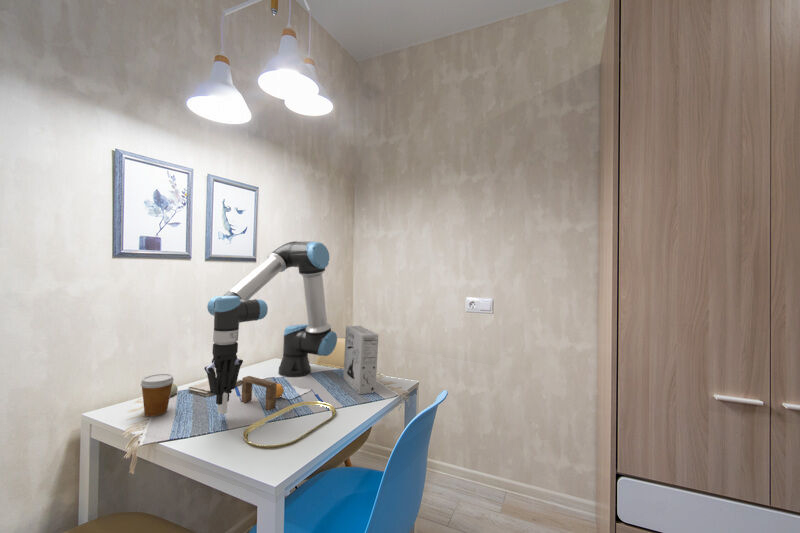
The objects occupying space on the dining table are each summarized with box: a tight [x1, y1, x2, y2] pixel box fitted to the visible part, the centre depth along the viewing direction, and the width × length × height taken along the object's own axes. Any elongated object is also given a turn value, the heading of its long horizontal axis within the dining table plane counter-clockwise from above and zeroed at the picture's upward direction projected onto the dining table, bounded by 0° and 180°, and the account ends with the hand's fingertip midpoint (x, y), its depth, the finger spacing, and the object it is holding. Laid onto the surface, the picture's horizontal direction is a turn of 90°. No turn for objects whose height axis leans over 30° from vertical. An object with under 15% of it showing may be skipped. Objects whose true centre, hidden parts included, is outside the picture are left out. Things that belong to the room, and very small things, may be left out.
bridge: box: [240, 375, 278, 411], centre depth 129 cm, size 3×14×9 cm, turn 64°
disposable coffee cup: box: [140, 373, 175, 417], centre depth 119 cm, size 10×10×12 cm
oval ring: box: [242, 400, 337, 449], centre depth 116 cm, size 19×35×2 cm, turn 156°
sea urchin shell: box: [170, 382, 178, 397], centre depth 134 cm, size 9×8×8 cm
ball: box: [276, 383, 284, 399], centre depth 137 cm, size 6×6×6 cm
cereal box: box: [342, 325, 379, 395], centre depth 155 cm, size 22×8×25 cm, turn 27°
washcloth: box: [187, 378, 242, 398], centre depth 144 cm, size 12×18×3 cm, turn 159°
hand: (222, 412), depth 116 cm, fingers closed
